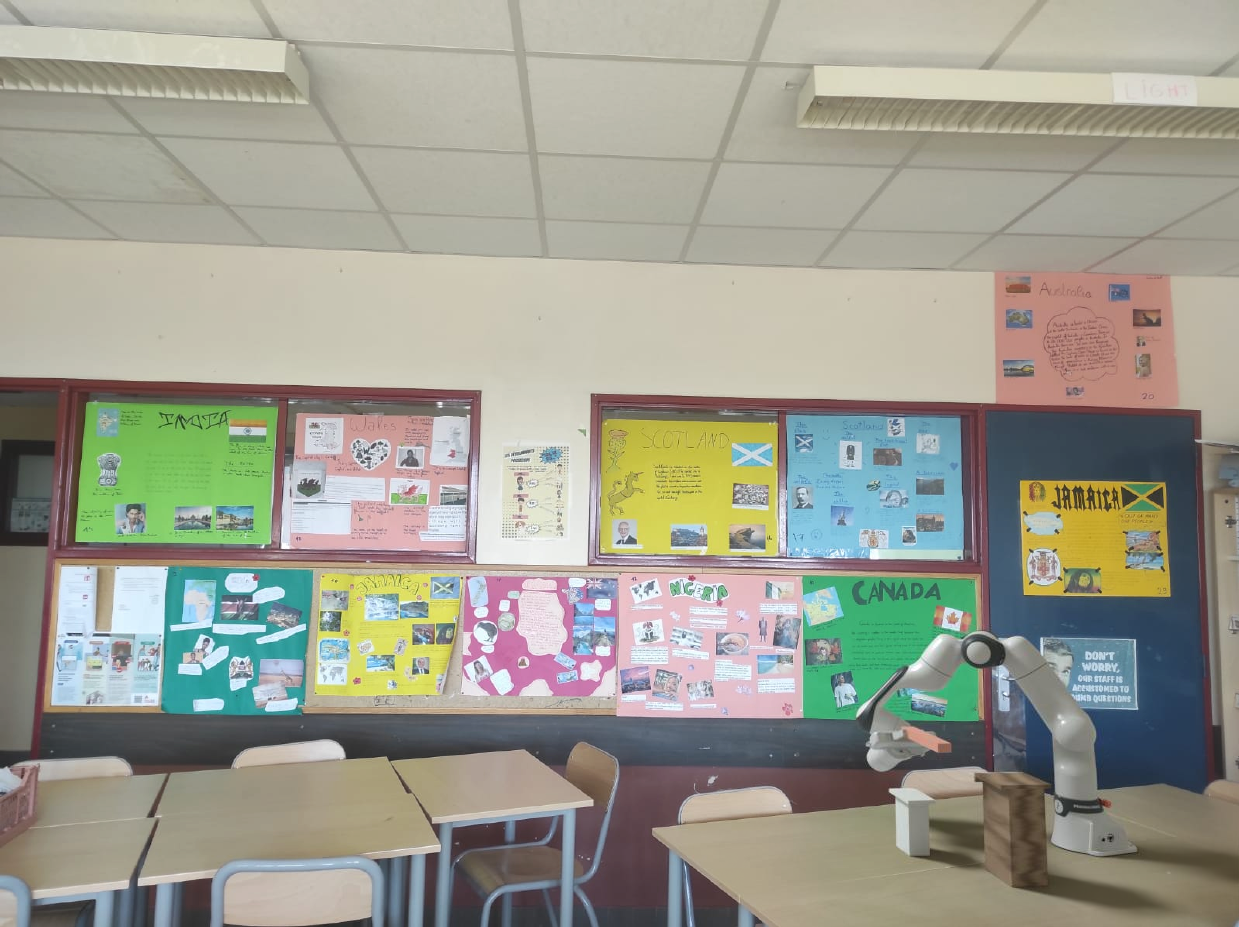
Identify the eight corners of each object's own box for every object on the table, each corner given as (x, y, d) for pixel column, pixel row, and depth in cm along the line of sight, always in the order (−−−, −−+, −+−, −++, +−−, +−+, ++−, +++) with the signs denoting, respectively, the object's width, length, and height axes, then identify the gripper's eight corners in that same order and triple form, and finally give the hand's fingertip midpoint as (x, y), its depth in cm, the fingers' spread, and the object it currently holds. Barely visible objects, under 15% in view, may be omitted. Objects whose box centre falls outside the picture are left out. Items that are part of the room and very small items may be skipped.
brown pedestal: (1025, 867, 223) (1021, 771, 226) (1055, 885, 210) (1051, 784, 213) (977, 868, 221) (974, 772, 224) (1004, 887, 209) (1001, 785, 211)
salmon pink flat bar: (913, 734, 250) (913, 726, 250) (951, 752, 228) (951, 743, 229) (901, 734, 250) (901, 726, 250) (938, 752, 228) (937, 743, 228)
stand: (915, 843, 240) (914, 788, 242) (936, 857, 228) (935, 800, 230) (890, 843, 239) (888, 788, 241) (909, 858, 227) (908, 800, 229)
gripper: (861, 736, 258) (877, 721, 247) (922, 736, 260) (941, 721, 249) (865, 756, 254) (882, 742, 243) (928, 756, 257) (947, 742, 246)
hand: (913, 732), depth 246 cm, fingers closed on salmon pink flat bar, 4 cm apart
